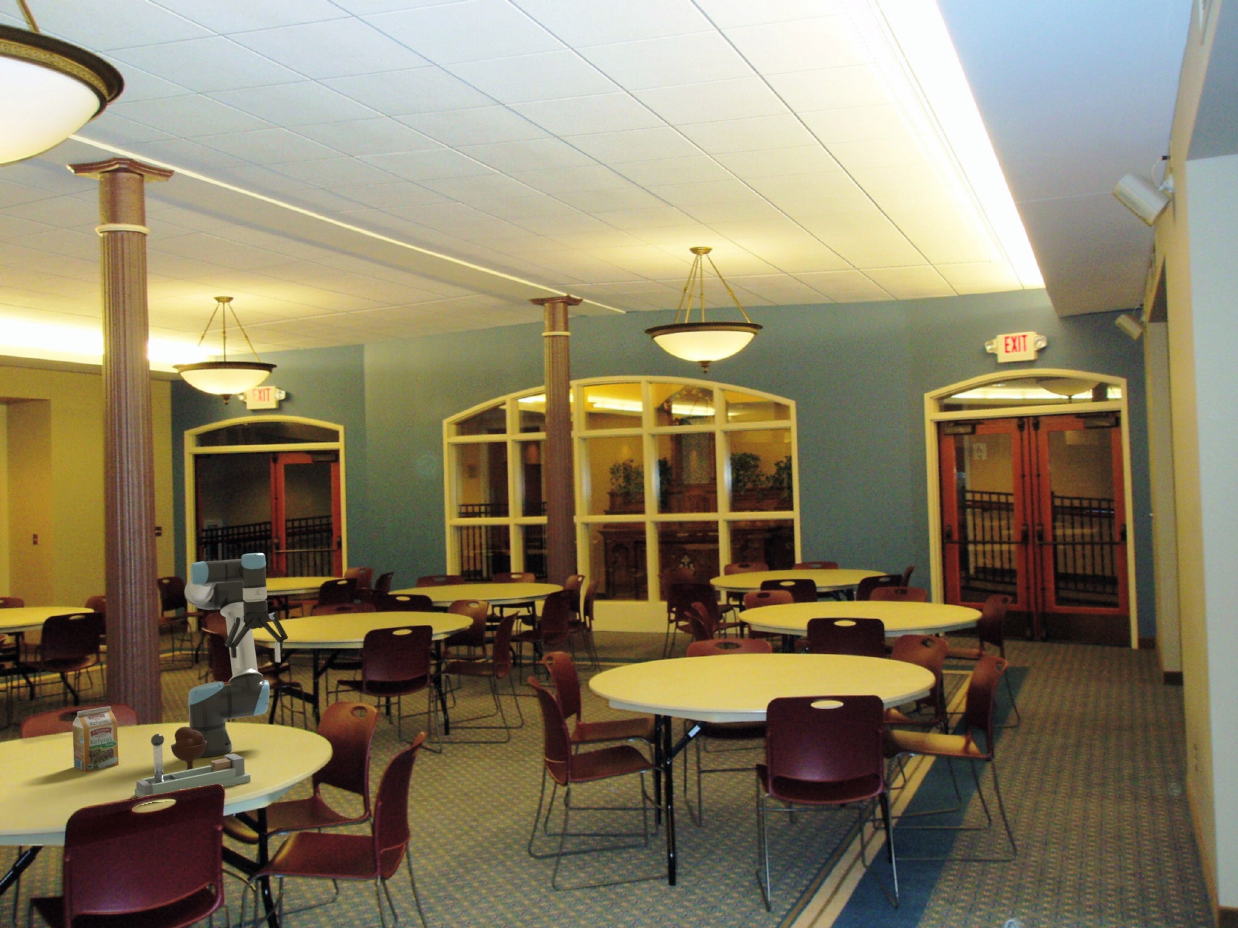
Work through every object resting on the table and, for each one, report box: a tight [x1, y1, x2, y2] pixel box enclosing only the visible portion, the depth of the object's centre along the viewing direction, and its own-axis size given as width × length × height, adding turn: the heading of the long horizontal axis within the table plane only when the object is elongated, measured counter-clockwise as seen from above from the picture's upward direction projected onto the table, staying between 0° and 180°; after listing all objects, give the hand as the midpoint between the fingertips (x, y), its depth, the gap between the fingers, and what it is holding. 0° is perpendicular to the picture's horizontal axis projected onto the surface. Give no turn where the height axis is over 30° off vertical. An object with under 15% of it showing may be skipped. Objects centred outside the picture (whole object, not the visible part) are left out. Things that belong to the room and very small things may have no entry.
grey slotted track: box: [134, 753, 251, 798], centre depth 326 cm, size 13×30×7 cm, turn 129°
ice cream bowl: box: [170, 726, 207, 771], centre depth 344 cm, size 11×11×15 cm
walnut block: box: [210, 758, 231, 772], centre depth 331 cm, size 4×4×4 cm
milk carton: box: [72, 705, 120, 773], centre depth 361 cm, size 11×11×19 cm
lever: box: [149, 733, 180, 784], centre depth 321 cm, size 7×7×16 cm
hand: (257, 664), depth 356 cm, fingers open, 13 cm apart
